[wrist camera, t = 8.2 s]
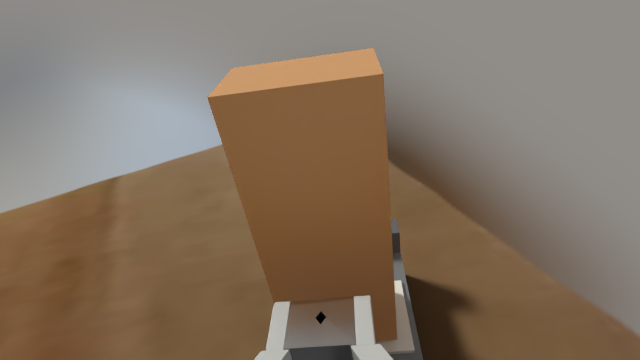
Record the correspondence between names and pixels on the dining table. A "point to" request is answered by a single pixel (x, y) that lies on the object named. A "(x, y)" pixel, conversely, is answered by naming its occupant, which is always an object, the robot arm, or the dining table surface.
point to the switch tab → (314, 176)
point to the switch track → (402, 311)
